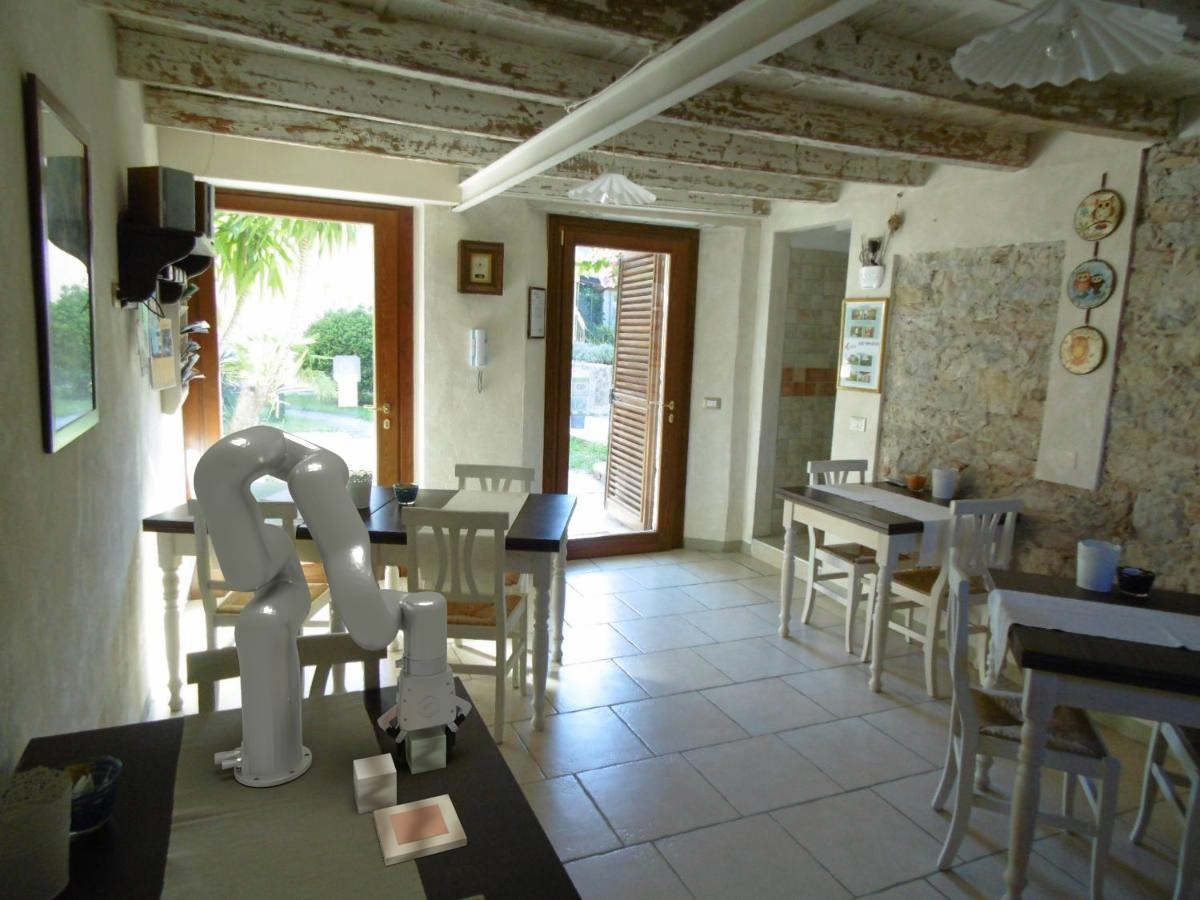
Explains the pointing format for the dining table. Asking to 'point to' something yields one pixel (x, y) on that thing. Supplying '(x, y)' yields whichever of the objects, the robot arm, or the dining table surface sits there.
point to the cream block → (375, 783)
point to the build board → (418, 829)
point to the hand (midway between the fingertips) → (425, 753)
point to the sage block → (426, 749)
